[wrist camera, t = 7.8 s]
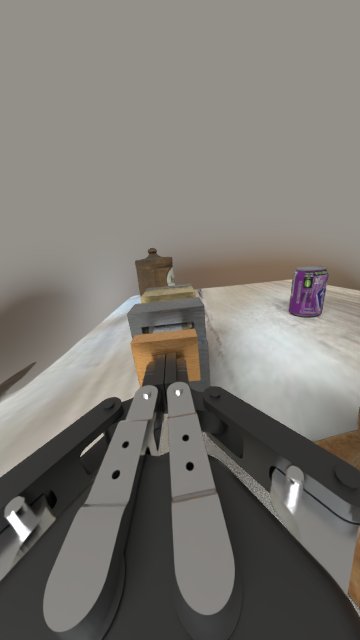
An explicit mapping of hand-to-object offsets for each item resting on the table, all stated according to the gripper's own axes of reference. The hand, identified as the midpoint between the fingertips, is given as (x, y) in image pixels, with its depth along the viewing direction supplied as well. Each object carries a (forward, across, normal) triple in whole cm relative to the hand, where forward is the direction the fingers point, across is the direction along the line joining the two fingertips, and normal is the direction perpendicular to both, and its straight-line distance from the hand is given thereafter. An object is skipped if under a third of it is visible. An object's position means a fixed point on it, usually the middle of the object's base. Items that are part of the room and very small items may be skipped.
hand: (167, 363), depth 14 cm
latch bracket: (+12, 0, +10) cm, 16 cm away
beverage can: (+31, -35, +10) cm, 48 cm away
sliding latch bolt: (+9, 0, +2) cm, 9 cm away
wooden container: (+62, +6, +10) cm, 63 cm away
